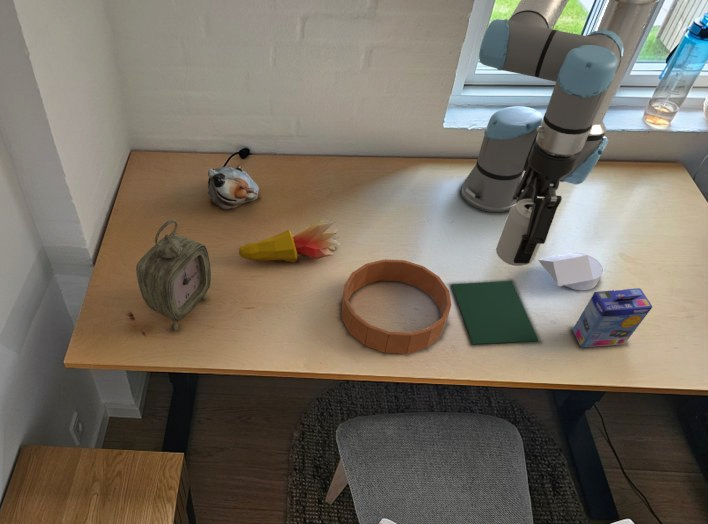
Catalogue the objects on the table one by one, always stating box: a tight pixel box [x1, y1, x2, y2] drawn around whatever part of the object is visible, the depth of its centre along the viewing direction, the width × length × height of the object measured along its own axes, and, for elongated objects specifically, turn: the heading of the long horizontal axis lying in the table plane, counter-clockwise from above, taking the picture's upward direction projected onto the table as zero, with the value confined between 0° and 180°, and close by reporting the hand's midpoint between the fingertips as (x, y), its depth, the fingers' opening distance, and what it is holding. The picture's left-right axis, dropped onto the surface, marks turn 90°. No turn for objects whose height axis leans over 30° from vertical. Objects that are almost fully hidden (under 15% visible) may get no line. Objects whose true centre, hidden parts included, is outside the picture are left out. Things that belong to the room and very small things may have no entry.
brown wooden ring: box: [341, 258, 452, 355], centre depth 132 cm, size 23×23×6 cm
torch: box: [238, 219, 342, 263], centre depth 144 cm, size 8×8×25 cm
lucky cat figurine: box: [207, 164, 260, 211], centre depth 157 cm, size 15×12×14 cm
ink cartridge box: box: [572, 287, 653, 348], centre depth 122 cm, size 10×6×14 cm, turn 95°
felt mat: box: [450, 280, 539, 346], centre depth 133 cm, size 18×14×1 cm
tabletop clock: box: [135, 219, 212, 332], centre depth 127 cm, size 14×9×25 cm, turn 148°
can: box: [495, 198, 542, 267], centre depth 116 cm, size 8×8×12 cm
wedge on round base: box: [537, 252, 604, 291], centre depth 137 cm, size 9×7×13 cm
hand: (517, 247), depth 119 cm, fingers closed on can, 7 cm apart
